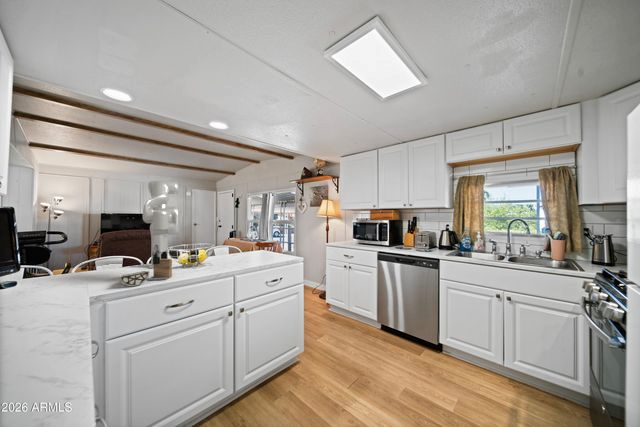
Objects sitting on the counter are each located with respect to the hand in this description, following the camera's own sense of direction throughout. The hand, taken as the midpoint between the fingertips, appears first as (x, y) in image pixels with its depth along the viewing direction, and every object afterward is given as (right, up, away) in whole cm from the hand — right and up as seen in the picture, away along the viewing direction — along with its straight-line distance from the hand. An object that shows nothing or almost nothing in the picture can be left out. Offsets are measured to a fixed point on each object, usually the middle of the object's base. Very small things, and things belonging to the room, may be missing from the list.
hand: (160, 262), depth 133 cm
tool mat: (0, -9, 0) cm, 9 cm away
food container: (-9, -7, -8) cm, 14 cm away
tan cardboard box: (+1, -8, 0) cm, 9 cm away
